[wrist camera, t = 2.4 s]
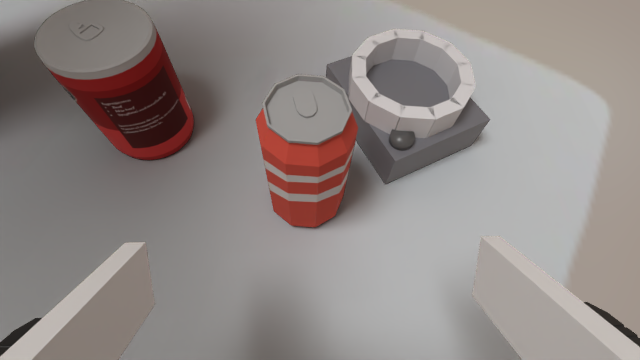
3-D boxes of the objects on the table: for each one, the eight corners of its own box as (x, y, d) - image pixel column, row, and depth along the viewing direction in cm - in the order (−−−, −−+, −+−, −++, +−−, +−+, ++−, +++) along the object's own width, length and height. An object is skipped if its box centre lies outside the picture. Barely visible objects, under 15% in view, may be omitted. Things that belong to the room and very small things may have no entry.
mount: (323, 94, 36) (326, 43, 31) (405, 65, 39) (422, 12, 33) (383, 185, 31) (400, 144, 26) (472, 144, 34) (506, 99, 28)
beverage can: (330, 160, 32) (342, 60, 22) (349, 222, 30) (373, 141, 19) (266, 172, 32) (246, 74, 21) (279, 238, 29) (264, 161, 18)
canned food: (135, 92, 36) (72, -11, 26) (208, 107, 35) (172, 7, 25) (95, 152, 32) (5, 58, 22) (177, 170, 31) (120, 82, 22)
